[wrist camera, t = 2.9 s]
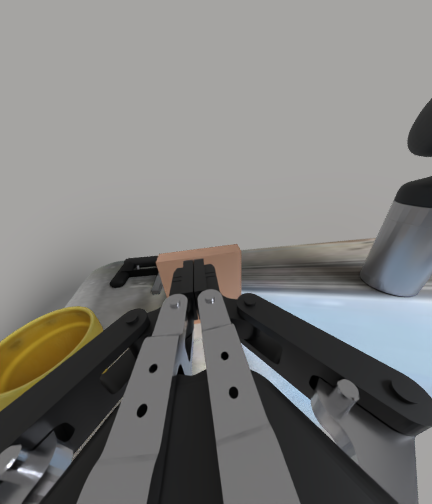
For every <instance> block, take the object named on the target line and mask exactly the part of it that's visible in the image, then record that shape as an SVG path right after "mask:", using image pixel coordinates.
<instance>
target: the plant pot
mask: <svg viewBox="0 0 432 504" xmlns="http://www.w3.org/2000/svg"><path fill="white" fill-rule="evenodd" d="M101 332H103V328H102V326H101V324H100V322H99V320H98V319H97V317H96V316H95V314H94V313H93V312H92V311H91V310H90V309H88V308H86V307H80V306H76V307H67V308H63V309H59V310H56V311H53V312H51V313H48V314H46V315H43V316H41V317H39V318H37V319H35V320H33V321H31V322H29V323H28V324H26V325H24V326H23V327H21V328H19V329H18V330H16V331H15V332H13V333H12V334H10V335H9V336H7V337H6V338H5V339H3V340H2V341H1V342H0V411H1V410H3V409H4V408H5V407H7V406H8V405H9V404H10V403H12V402H13V401H14V400H16V399H17V398H18V397H19V396H21V395H22V394H23V393H24V392H26V391H27V390H28V389H30V388H31V387H32V386H33V385H35V384H36V383H37V382H39V381H40V380H41V379H42V378H44V377H45V376H46V375H48V374H49V373H50V372H51V371H53V370H54V369H55V368H56V367H58V366H59V365H60V364H62V363H63V362H64V361H65V360H67V359H68V358H69V357H71V356H72V355H73V354H74V353H76V352H77V351H78V350H80V349H81V348H82V347H83V346H85V345H86V344H87V343H88V342H90V341H91V340H92V339H94V338H95V337H96V336H97V335H99V334H100V333H101ZM106 371H107V369H106V370H105V371H104V372H103V373H102V374H104V373H105V372H106Z"/></svg>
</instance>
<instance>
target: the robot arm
mask: <svg viewBox="0 0 432 504" xmlns="http://www.w3.org/2000/svg"><path fill="white" fill-rule="evenodd" d="M408 148H409V150H410V151H411V153H413V154H415V155H418V156H424V157H432V99H431V100H430V101H429V102H428V103H427V104H426V106H425V107H424V108H423V110H422V111H421V112H420V114H419V116H418V117H417V119H416V120H415V122H414V124H413V126H412V128H411V130H410V132H409V136H408ZM431 276H432V176H431V177H427V178H423V179H419V180H415V181H411V182H408V183H406V184H404V185H403V186H401V188H400V189H399V191H398V192H397V194H396V197H395V199H394V201H393V203H392V205H391V208H390V210H389V212H388V214H387V216H386V218H385V221H384V223H383V225H382V227H381V229H380V231H379V233H378V236H377V237H376V240H375V242H374V244H373V246H372V248H371V250H370V252H369V255H368V257H367V259H366V261H365V263H364V265H363V268H362V270H361V272H360V277H361V279H362V280H363V281H364V282H365V283H367V284H368V285H370V286H372V287H373V288H376V289H378V290H380V291H383V292H385V293H389V294H392V295H397V296H415V295H417V294H418V293H419V291H420V290H421V289H422V287H423V286H424V285H425V283H426V282H427V281H428V280H429V278H430V277H431ZM198 316H199V320H200V322H201V329H202V330H201V331H202V339H203V347H204V355H205V362H206V370H204V371H202V372H200V373H198V374H196V375H193V376H192V356H193V343H194V320H198ZM241 343H242V344H243V345H244V346H246V347H247V348H248V349H249V350H250V351H252V352H253V353H254V354H255V355H256V356H258V357H259V358H260V359H261V360H263V361H264V362H265V363H266V364H267V365H269V366H270V367H271V368H272V369H274V370H275V371H276V372H277V373H278V374H280V375H281V376H282V377H283V378H284V379H286V380H287V381H288V382H289V383H291V384H292V385H293V386H294V387H295V388H297V389H298V390H299V391H300V392H302V393H303V394H304V395H305V396H306V397H308V398H309V399H310V400H311V406H312V410H313V412H314V415H315V417H316V418H317V420H318V421H319V423H320V424H321V425H322V427H323V428H324V429H325V430H326V431H327V432H328V433H329V434H330V435H331V436H332V438H333V439H334V441H335V442H336V444H335V443H334V442H333V441H332V440H331V439H330V438H329V437H328V436H327V435H326V434H325V433H324V432H323V431H322V430H321V429H320V428H318V427H317V426H316V425H315V424H314V423H313V422H312V421H311V420H310V419H309V418H308V417H307V416H306V415H305V414H304V413H303V412H302V411H300V410H299V409H298V408H297V407H296V406H295V405H294V404H293V403H292V402H291V401H290V400H289V399H288V398H287V397H286V396H285V395H284V394H282V393H281V392H280V391H279V390H278V389H277V388H276V387H275V386H274V385H273V384H272V383H271V382H270V381H269V380H267V379H266V378H265V377H263V376H262V375H260V374H259V373H257V372H255V371H252V370H250V368H249V365H248V362H247V360H246V357H245V354H244V351H243V348H242V345H241ZM127 348H129V349H128V350H127V351H126V352H125V353H124V354H123V355H122V356H121V357H120V358H119V359H118V360H117V361H116V362H115V363H114V364H113V365H112V366H111V367H110V368H109V369H108V370H107V371H106V372H105V373H104V374H102V373H103V372H104V371H105V370H106V369H107V368H108V367H109V366H110V365H111V364H112V363H113V362H114V361H115V360H116V359H117V358H118V357H119V356H120V355H121V354H122V353H123V352H124V351H125V350H126V349H127ZM123 395H124V396H123ZM122 397H123V399H122V401H121V403H120V404H119V405H118V406H117V407H116V408H115V409H114V410H113V412H112V413H111V414H110V415H109V416H108V418H107V419H106V420H105V421H104V423H103V424H102V425H101V426H100V428H99V429H98V430H97V431H96V433H95V434H94V435H93V436H92V438H91V439H90V440H89V441H88V443H87V444H86V445H85V446H84V448H83V449H82V450H81V451H80V453H79V454H78V455H77V456H76V458H75V459H74V460H73V461H72V457H73V455H74V453H75V452H76V451H77V450H78V449H79V447H80V446H81V445H82V444H83V443H84V442H85V440H86V439H87V438H88V437H89V436H90V434H91V433H92V432H93V431H94V430H95V428H96V427H97V426H98V425H99V424H100V423H101V421H102V420H103V419H104V418H105V417H106V415H107V414H108V413H109V412H110V411H111V410H112V408H113V407H114V406H115V405H116V404H117V402H118V401H119V400H120V399H121V398H122ZM430 427H432V398H431V397H430V396H429V395H428V393H427V392H426V391H425V390H424V389H423V388H422V387H421V386H419V385H418V384H417V383H416V382H415V381H413V380H412V379H410V378H409V377H407V376H406V375H404V374H402V373H401V372H399V371H397V370H395V369H393V368H391V367H389V366H388V365H386V364H384V363H382V362H380V361H378V360H376V359H374V358H373V357H371V356H369V355H367V354H365V353H363V352H361V351H360V350H358V349H356V348H354V347H352V346H350V345H348V344H347V343H345V342H343V341H341V340H339V339H337V338H335V337H334V336H332V335H330V334H328V333H326V332H324V331H322V330H320V329H319V328H317V327H315V326H313V325H311V324H309V323H307V322H306V321H304V320H302V319H300V318H298V317H296V316H294V315H293V314H291V313H289V312H287V311H285V310H283V309H281V308H280V307H278V306H276V305H274V304H272V303H270V302H268V301H267V300H265V299H263V298H261V297H259V296H257V295H255V294H252V293H245V294H242V295H240V296H239V297H238V299H231V298H227V297H225V296H223V295H222V294H221V292H220V290H219V285H218V280H217V276H216V271H215V267H214V266H213V265H212V264H206V265H204V259H203V258H202V259H194V260H186V261H183V268H177V269H176V270H175V271H174V273H173V278H172V283H171V288H170V293H169V297H168V298H166V299H165V300H164V302H163V304H162V307H160V308H159V309H157V310H154V311H152V312H149V313H147V312H146V311H145V310H143V309H134V310H131V311H129V312H127V313H126V314H124V315H123V316H122V317H120V318H119V319H118V320H117V321H115V322H114V323H113V324H111V325H110V326H109V327H108V328H106V329H105V330H104V331H103V332H101V333H100V334H99V335H97V336H96V337H95V338H94V339H92V340H91V341H90V342H88V343H87V344H86V345H85V346H83V347H82V348H81V349H80V350H78V351H77V352H76V353H74V354H73V355H72V356H71V357H69V358H68V359H67V360H65V361H64V362H63V363H62V364H60V365H59V366H58V367H56V368H55V369H54V370H53V371H51V372H50V373H49V374H48V375H46V376H45V377H44V378H42V379H41V380H40V381H39V382H37V383H36V384H35V385H33V386H32V387H31V388H30V389H28V390H27V391H26V392H24V393H23V394H22V395H21V396H19V397H18V398H17V399H16V400H14V401H13V402H12V403H10V404H9V405H8V406H7V407H5V408H4V409H3V410H1V411H0V504H418V491H417V474H416V457H415V441H414V440H415V437H416V435H418V434H420V433H422V432H423V431H425V430H427V429H429V428H430ZM71 461H72V463H71Z"/></svg>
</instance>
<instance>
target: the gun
mask: <svg viewBox="0 0 432 504" xmlns="http://www.w3.org/2000/svg"><path fill="white" fill-rule="evenodd" d="M157 258H158V256H150V257H139V258H129V259H126V260H125V261H124V264H123V266H122V267H121V268H120V270H119V271H118V272H117V274H116V275H115V277H114V278H113V279H112V281H111V282H110V286H112V287H114V288H118V287H122V286H123V285H124V284H125V283H126V281H127V280H128V278H129V277H138V276H149V275H157V278H156V280H155V283H154V285H153V288H152V290H151V292H152V294H153V295H154V294H160V291H161V289H162V286H163V284H162V281H161V277H160V274H159V271H158V268H148V269H139V267H146V266H157V265H156V261H157ZM135 267H137V270H134V268H135Z"/></svg>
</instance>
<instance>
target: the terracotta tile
mask: <svg viewBox="0 0 432 504" xmlns="http://www.w3.org/2000/svg"><path fill="white" fill-rule="evenodd" d="M202 258H203V259H204V265H206V264H212V265H213V266H214V267H215V271H216V276H217V280H218V285H219V290H220V292H221V294H222V295H223V296H225V297H227V298H231V299H238V297H239V296H240V295H241V250H240V248H239V247H238V245H237V244H234V245H226V246H218V247H210V248H203V249H194V250H187V251H179V252H172V253H163V254H159V256H158V258H157V261H156V265H157V268H158V271H159V274H160V277H161V281H162V284H163V287H164V290H165V293H166V296H167V298H168V297H169V293H170V288H171V283H172V278H173V273H174V271H175V270H176V269H177V268H183V261H186V260H194V259H202ZM199 323H201V322H200V320H199V316H198V320H194V324H199Z"/></svg>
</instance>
